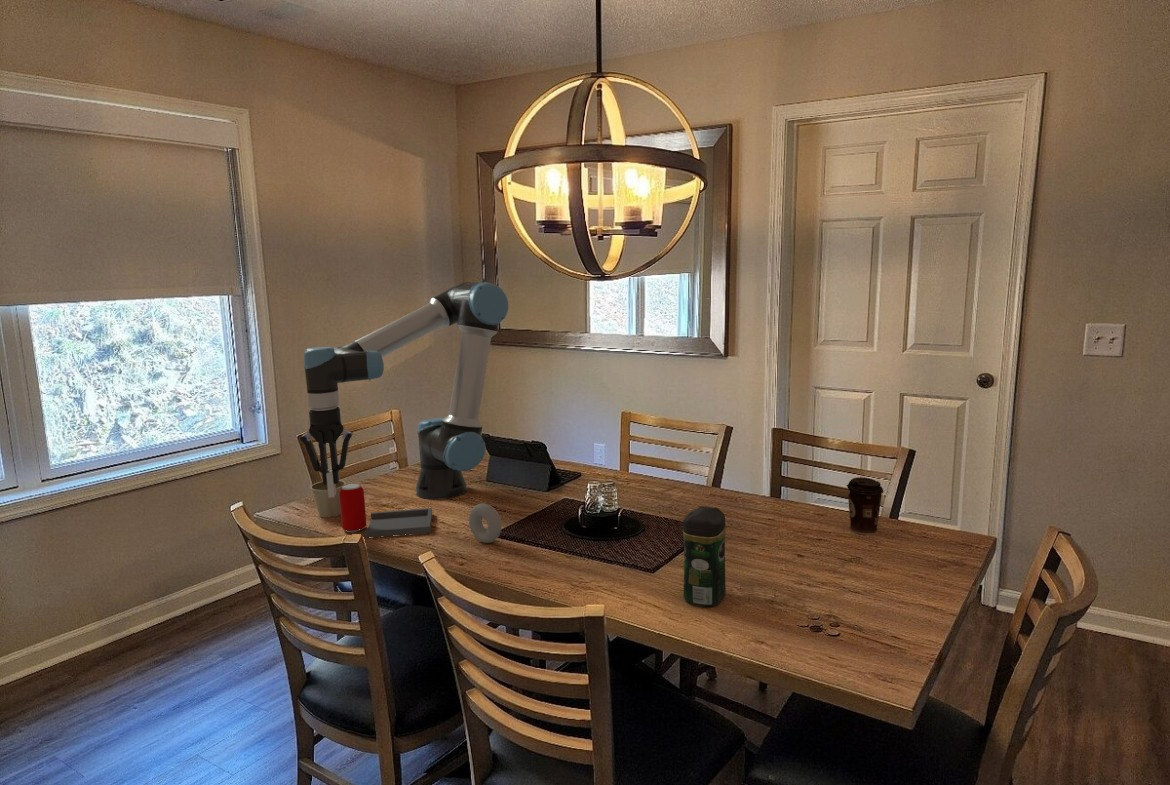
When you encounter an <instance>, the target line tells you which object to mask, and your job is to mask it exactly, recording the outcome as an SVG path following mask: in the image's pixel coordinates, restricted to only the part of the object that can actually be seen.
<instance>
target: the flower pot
mask: <svg viewBox="0 0 1170 785" xmlns="http://www.w3.org/2000/svg"><path fill="white" fill-rule="evenodd" d="M345 485H347V483H346V481H344V480H340V479H339V482H338V484H335V486H336V495H335V497H330V498H329V497H328V486H327V485H324V484H323V480H322V481H319V482H318V481H317V482H315V483H313V484H312V485H310V487H309V489H310V490H311V491H312V493H313V495H314V499H315V502H316V508H317V511H318V515H319V517H322V518H327V519H328V518H330V517H333V518H334V517H338V516H341V508H340V496H339V493H340V490H341V488H342V487H343V486H345Z"/></svg>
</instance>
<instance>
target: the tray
mask: <svg viewBox="0 0 1170 785" xmlns="http://www.w3.org/2000/svg"><path fill="white" fill-rule="evenodd" d="M432 514H433V508H432V507H425V508H416V509H415V508H413V509H400V510H399V509H398V510H388V511H387V510H386V511H374V512H370V521H369V524H368V526H367V529H365V530H364V531H363V533H364V534H363V535H364V539H365V538H366V539H367V538H368V539H370V538H369V537H380V538H382V537H381V536H392V537H394V536H393V535H405V534H406V535H405V536H410V535H409V534H417V535H426V534H425V533H429V534H431V532H432V531H431V530H432V522H433V515H432ZM368 539H367V540H368Z"/></svg>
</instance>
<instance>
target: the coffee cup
mask: <svg viewBox="0 0 1170 785" xmlns="http://www.w3.org/2000/svg"><path fill="white" fill-rule="evenodd" d="M846 487H847V490H848V491H849V493H848V495H847V496H848V497H847V498H848V511H849V512H848V513H849V514H848V515H849V520H850V526H849V527H850V530H851V531H852V532H853V533H856V534H859V535H863V536H864V535H865V536H872V535H875V534H877V533H878V526H879V525H878V524H879V523H878V522H879V518H880V511H881V510H880V509H881V503H882V495H883V493H884V488H883V487H882V484H881V482H880V481H877V480H875V479H872V478H870V477H853V478H851V479H850V480H849V482H848V483H847V484H846Z"/></svg>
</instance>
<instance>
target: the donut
mask: <svg viewBox="0 0 1170 785" xmlns="http://www.w3.org/2000/svg"><path fill="white" fill-rule="evenodd" d="M483 518H484V520H485V521H486V522H487V528H486V527H485V526H484V524H483ZM468 525H469V529H470V532H471V533H472V535H473V536H474V537H475V538H476V539H477V541H479V542H481V543H483V544H484V543H485V544H489V543H490V544H491V543H493V542H495V541H496V540H497V539H498V538H499V537H500V535H501V531H502V521H501V517H500V514H499V513H498V512H497V510H496V508H494V507H493V506H492V505H490V504H487V503H478V504H476V505H474V506H473V508H471V510H470V511H469V515H468Z"/></svg>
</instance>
